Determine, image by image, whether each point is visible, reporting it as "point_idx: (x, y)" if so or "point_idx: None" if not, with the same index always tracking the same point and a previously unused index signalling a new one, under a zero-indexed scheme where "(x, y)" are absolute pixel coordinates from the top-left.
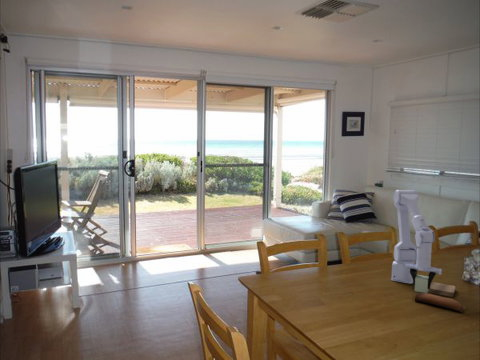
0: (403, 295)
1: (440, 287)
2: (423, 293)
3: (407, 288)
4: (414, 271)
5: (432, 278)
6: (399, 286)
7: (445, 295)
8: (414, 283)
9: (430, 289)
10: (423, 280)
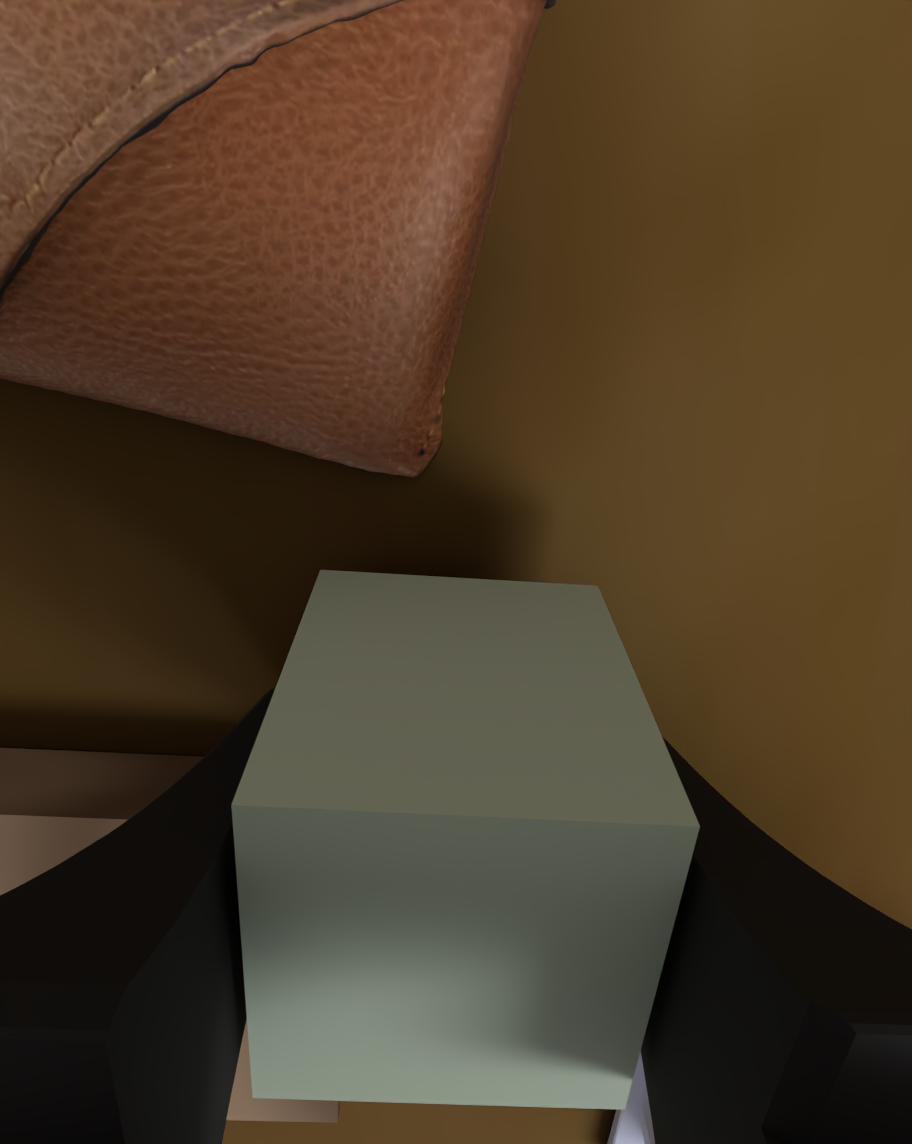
0: (832, 322)
1: None
2: (311, 2)
3: (720, 786)
4: (842, 1133)
5: (21, 892)
6: (864, 815)
7: (23, 752)
8: None
9: None
10: (396, 775)
